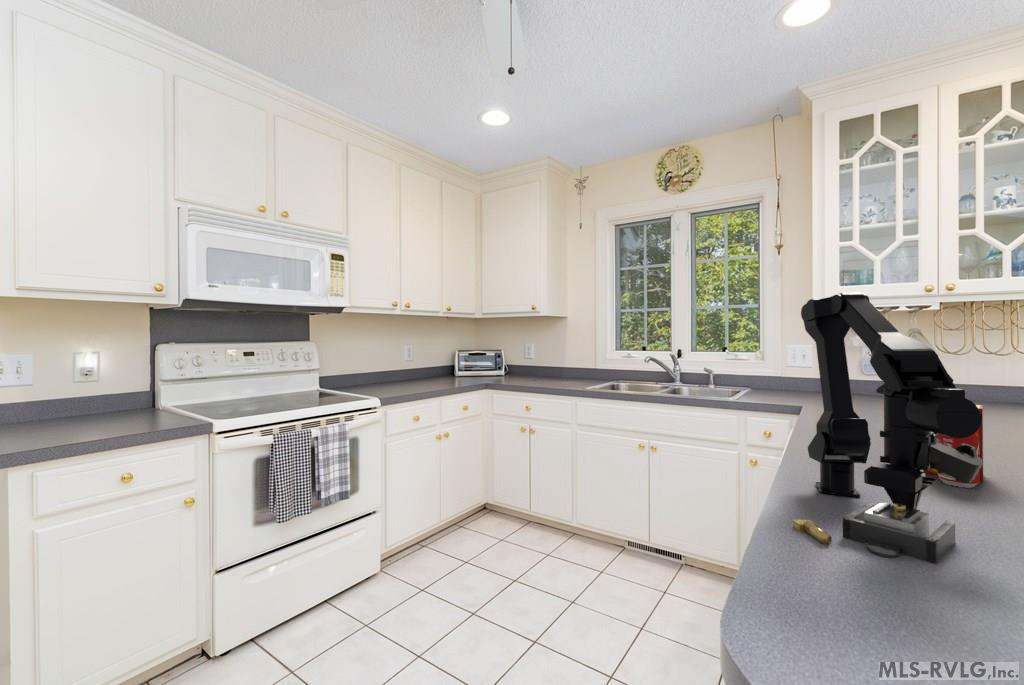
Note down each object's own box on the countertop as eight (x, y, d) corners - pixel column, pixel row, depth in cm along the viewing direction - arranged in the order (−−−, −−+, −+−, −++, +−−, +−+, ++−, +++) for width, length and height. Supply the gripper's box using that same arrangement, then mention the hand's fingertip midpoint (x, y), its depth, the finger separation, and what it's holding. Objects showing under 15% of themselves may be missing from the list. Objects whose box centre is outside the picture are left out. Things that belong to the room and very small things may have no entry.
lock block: (880, 530, 76) (880, 496, 76) (929, 543, 71) (928, 506, 71) (864, 541, 72) (864, 505, 72) (914, 555, 67) (913, 517, 67)
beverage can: (988, 488, 95) (988, 429, 94) (957, 489, 95) (956, 430, 95) (959, 479, 101) (959, 424, 101) (929, 479, 101) (929, 424, 101)
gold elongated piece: (793, 526, 77) (792, 517, 77) (810, 526, 77) (810, 517, 77) (816, 544, 71) (816, 534, 71) (836, 544, 71) (835, 534, 70)
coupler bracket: (867, 520, 80) (867, 502, 80) (955, 542, 71) (955, 522, 71) (834, 542, 71) (834, 522, 71) (929, 570, 62) (929, 548, 62)
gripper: (961, 441, 63) (962, 557, 63) (989, 425, 74) (990, 523, 74) (862, 429, 72) (863, 530, 72) (900, 416, 83) (901, 504, 83)
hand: (907, 522), depth 75 cm, fingers closed
